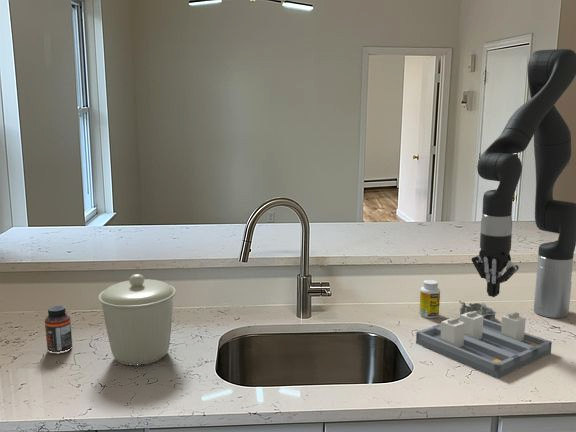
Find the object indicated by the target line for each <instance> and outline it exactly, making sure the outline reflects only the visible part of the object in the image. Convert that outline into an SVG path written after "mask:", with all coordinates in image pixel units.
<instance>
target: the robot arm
mask: <svg viewBox="0 0 576 432" xmlns="http://www.w3.org/2000/svg"><path fill="white" fill-rule="evenodd" d="M526 71H527V80H528V81H527V83H528V90H529V94H530V95H529V96H530V99H528V100H526V102H525V103H524V104H522V105H521V106H519V108H518V109H516V110H515V111H514V112H513V114H512V115H511V116H510V118H509V119H508V121H507V123H506V125H505V126H504V128H503V130H502V131H501V134H500V135H499V136H498V137H497V138H496V139H495V140H494V141H493V142H492V143H491V144H490V145H489V146H488V147H487V148H486V149H485V150H483V151H484V152H482V154H481V155H480V157H479V158H478V160H477V165H476V170H477V174H478V175H479V177H480V178H482V179H483V180H487V181H494V182H499V183H498V186H497V188H496V189H489V190H487V191H485V192H484V194H483V197H482V211H481V212H482V213H481V214H482V215H481V220H480V235H479V236H480V238H479V248H480V250H479V252H478V255H476V256H473V257H471V262H472V264H473V265H474V267H475V269H476V271H477V273H478V275H479V276H480V278H481V279H484V280H485V281H486V292H487V293H486V294H487V296H489V297H491V298H495V297H497V296H498V295H500V287H501V285H500V284H502V283H505V282H507V281H508V280H509V279H510V278H512V277H513V276H514V275H515V273H517V271H518V270H520V269H519V267H520V266H518V265H517V264H514V263H513V262H512V258H511V254H510V253H511V250H512V235H513V218H512V217H513V215H512V214H513V199H514V196H515V194H516V190H517V186H518V184H519V181H520V179H521V176H522V172H523V165H522V160H521V159H520V157H519V156H517V155H516V154H517V153H518V154H519V153H520V154H521V153H522V152H524V151H525V150H526V149H527V147H528V146H529V144H530V142H531V141H532V138H533V149H534V150H533V151H534V163H535V166H534V167H535V197H534V199H535V200H534V221H535V225H536V227H537V229H539V230H541V231H543V232H547V233H554V234H558V239H557V240H555V241H549V242H544V243H541V244H539V245H538V246H539V247H538V252H537V253H538V254H537V266H536V276H535V277H536V280H535V292H534V300H533V301H534V302H533V312H534V313H535V314H537V315H539V316H541V317H545V318H553V319H563V318H566V317H568V316H569V312H570V303H571V302H570V301H571V295H572V294H571V293H572V277H573V265H574V253H575V250H576V203H575V202H573V201H564V200H558V199H557V200H556V199H554V195H553V193H554V187H555V183H556V181H557V180H558V179H559V177H560V175H561V174H562V173H563V171H564V169H566V167H567V165H568V163H569V162H570V160H571V157H572V136H571V130H570V128H569V125H568V124H567V122H566V121H565V119H564V118H563V116H562V115H561V114H560V112H559V110H558V109H557V107H556V103H557V102H558V101H559V99H560V98H561V97H562V96H563V94H564V93H565V92H566V90H568V88H569V87H570V85H571V84H572V82H574V79H575V78H576V51H575V50H573V49H570V48H569V49H568V48H567V49H566V48H560V49H559V48H558V49H553V48H552V49H541V50H536V51H534V52H532V54H531V55H530V57H529V59H528V63H527V70H526ZM504 270H505V271H504Z"/></svg>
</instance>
